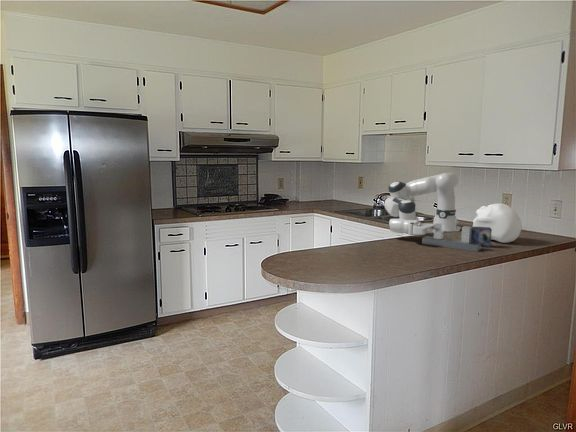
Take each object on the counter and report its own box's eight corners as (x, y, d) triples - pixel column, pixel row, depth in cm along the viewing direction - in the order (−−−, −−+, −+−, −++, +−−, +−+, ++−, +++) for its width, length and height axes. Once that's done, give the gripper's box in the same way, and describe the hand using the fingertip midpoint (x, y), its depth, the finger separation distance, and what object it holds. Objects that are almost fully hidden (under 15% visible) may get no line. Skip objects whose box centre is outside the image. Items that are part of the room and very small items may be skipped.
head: (473, 223, 269) (502, 191, 252) (504, 256, 254) (536, 224, 236) (454, 226, 259) (482, 193, 241) (485, 260, 243) (517, 227, 225)
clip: (435, 243, 238) (436, 223, 237) (442, 244, 236) (443, 224, 234) (433, 245, 235) (434, 224, 233) (440, 245, 233) (441, 224, 231)
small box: (469, 246, 231) (471, 228, 230) (468, 244, 238) (469, 226, 236) (490, 247, 228) (492, 229, 227) (488, 245, 234) (490, 227, 233)
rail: (426, 241, 243) (427, 221, 242) (481, 249, 225) (482, 227, 223) (421, 244, 238) (422, 223, 236) (477, 251, 219) (478, 229, 217)
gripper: (421, 230, 251) (444, 233, 243) (407, 235, 235) (432, 238, 227) (421, 220, 250) (445, 222, 242) (408, 224, 235) (432, 227, 226)
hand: (438, 230), depth 234 cm, fingers open, 8 cm apart
